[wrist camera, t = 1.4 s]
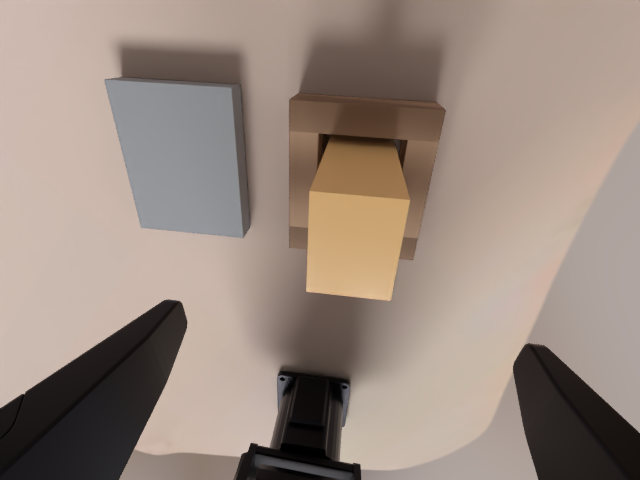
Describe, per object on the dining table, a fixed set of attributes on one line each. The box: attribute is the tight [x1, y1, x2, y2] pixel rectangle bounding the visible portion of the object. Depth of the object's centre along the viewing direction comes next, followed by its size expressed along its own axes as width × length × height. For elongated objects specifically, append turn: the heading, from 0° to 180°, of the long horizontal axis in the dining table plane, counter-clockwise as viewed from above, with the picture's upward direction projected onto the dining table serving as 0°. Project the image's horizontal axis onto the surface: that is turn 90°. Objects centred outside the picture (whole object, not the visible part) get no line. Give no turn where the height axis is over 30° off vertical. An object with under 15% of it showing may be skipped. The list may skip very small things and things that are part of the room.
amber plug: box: [306, 134, 410, 301], centre depth 17 cm, size 4×4×9 cm
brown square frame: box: [289, 93, 446, 260], centre depth 20 cm, size 8×8×2 cm
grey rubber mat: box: [104, 77, 250, 238], centre depth 21 cm, size 9×7×2 cm
